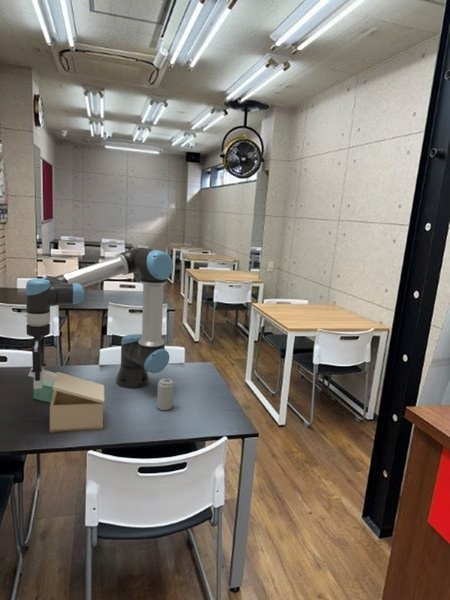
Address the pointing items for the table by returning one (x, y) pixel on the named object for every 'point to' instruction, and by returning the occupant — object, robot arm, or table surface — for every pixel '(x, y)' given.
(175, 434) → the table surface
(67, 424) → the carton
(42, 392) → the box
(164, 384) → the beverage can
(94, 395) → the lid
